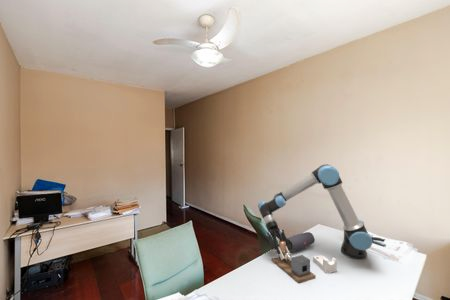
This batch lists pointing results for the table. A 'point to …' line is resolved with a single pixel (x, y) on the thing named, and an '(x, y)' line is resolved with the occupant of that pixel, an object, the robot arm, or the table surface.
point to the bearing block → (300, 266)
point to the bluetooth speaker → (300, 241)
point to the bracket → (325, 263)
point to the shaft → (284, 251)
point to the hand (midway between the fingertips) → (286, 258)
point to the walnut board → (287, 268)
